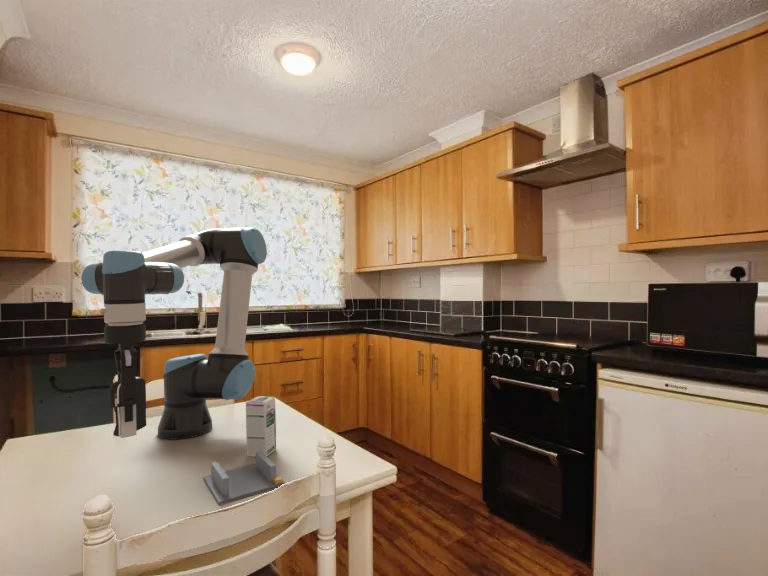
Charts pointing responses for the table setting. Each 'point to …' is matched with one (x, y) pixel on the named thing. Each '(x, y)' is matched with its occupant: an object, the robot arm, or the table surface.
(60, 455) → the table surface
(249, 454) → the syrup box
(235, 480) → the dock
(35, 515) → the table surface
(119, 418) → the battery
